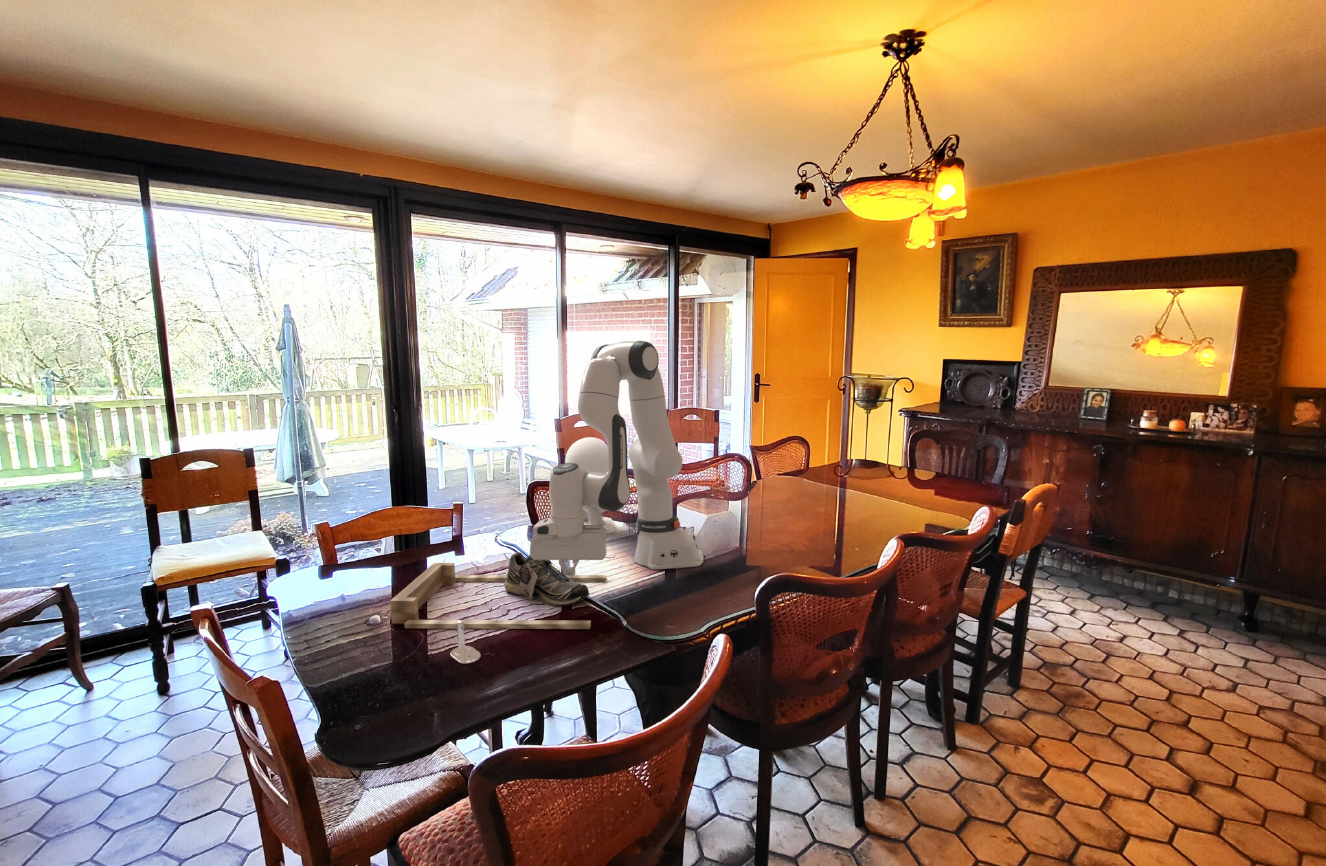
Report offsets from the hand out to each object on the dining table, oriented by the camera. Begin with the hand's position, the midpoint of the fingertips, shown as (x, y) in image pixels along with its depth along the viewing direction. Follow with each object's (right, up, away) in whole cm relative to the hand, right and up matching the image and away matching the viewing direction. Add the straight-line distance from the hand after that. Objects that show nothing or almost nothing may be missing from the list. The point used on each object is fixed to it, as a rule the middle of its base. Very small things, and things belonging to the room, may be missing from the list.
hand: (569, 574), depth 156 cm
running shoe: (-8, -8, +5) cm, 12 cm away
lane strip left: (-16, -10, -13) cm, 22 cm away
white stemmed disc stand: (-19, -12, -26) cm, 34 cm away
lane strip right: (-15, -6, +16) cm, 23 cm away
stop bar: (-40, -8, +3) cm, 41 cm away
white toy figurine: (-3, +1, +65) cm, 65 cm away
